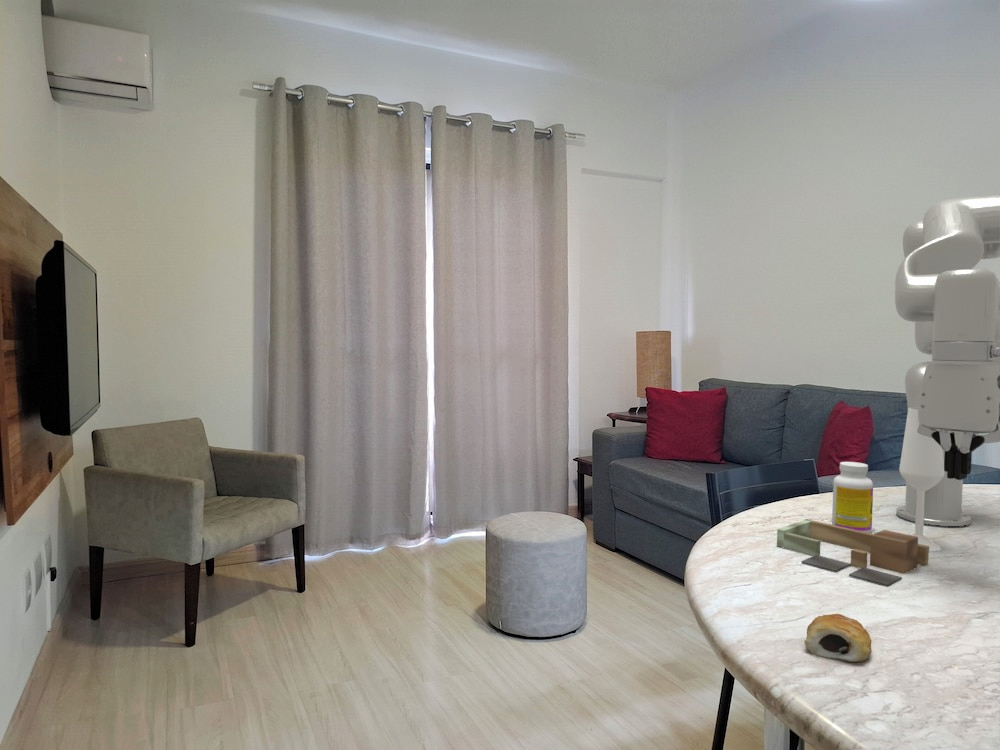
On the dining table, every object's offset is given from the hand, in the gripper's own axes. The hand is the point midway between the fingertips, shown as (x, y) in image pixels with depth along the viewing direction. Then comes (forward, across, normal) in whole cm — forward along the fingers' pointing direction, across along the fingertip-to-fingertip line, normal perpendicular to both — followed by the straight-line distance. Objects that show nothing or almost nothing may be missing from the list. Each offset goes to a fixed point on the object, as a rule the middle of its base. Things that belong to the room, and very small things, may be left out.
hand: (956, 477), depth 99 cm
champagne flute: (+16, +10, -16) cm, 24 cm away
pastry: (+17, +1, +35) cm, 38 cm away
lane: (+16, +15, +2) cm, 22 cm away
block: (+16, +8, 0) cm, 18 cm away
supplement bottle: (+16, +21, -15) cm, 30 cm away
